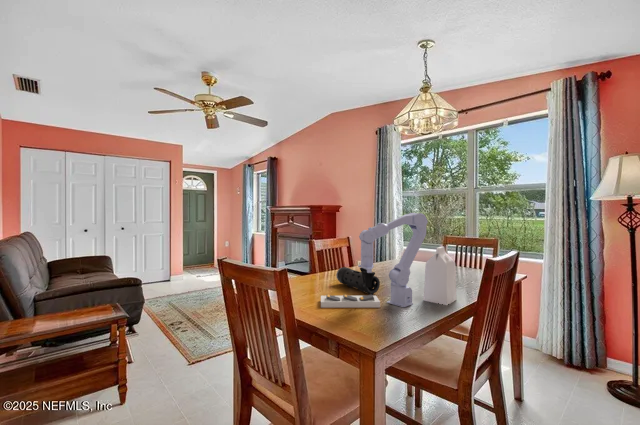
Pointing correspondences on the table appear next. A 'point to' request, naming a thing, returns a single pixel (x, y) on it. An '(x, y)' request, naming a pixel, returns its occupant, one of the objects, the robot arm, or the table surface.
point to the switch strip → (349, 302)
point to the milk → (440, 278)
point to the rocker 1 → (332, 298)
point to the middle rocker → (349, 298)
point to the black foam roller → (356, 280)
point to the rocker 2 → (367, 298)
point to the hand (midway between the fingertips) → (367, 284)
